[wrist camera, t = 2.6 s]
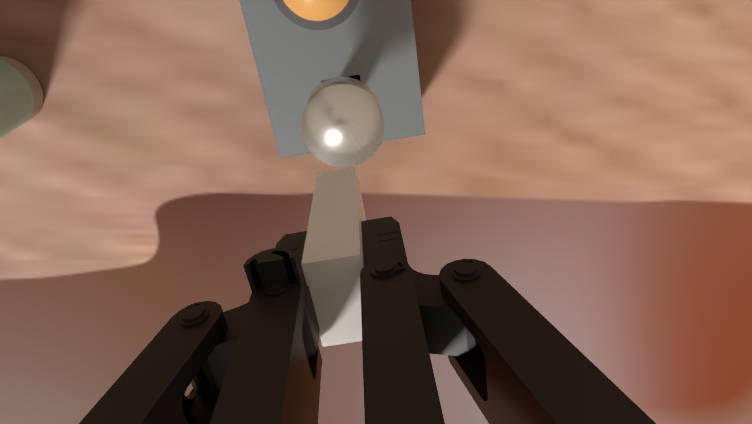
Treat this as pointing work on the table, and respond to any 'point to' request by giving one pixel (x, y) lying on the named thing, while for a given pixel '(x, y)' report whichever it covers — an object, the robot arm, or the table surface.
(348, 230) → the robot arm
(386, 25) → the console
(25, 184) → the table surface
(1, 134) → the coffee cup
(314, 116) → the knob
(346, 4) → the pot knob
